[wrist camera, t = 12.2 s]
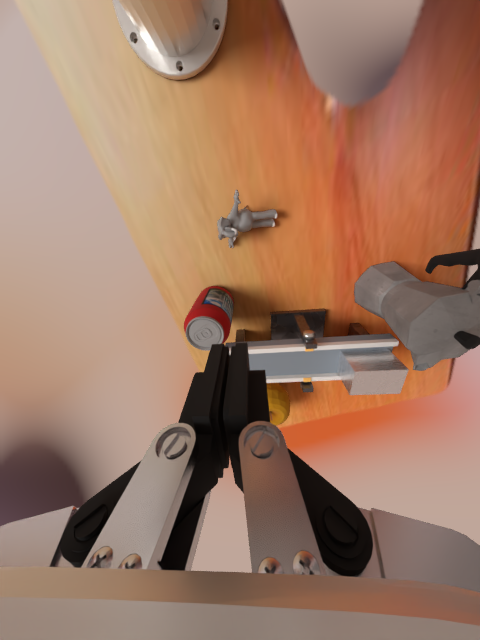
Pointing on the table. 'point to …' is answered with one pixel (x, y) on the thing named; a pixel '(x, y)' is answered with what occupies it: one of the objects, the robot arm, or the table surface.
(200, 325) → the beverage can
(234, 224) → the elephant figurine
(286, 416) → the apple
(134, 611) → the robot arm
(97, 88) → the table surface
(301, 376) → the beam
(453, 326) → the coffeepot
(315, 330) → the stand
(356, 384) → the rider
